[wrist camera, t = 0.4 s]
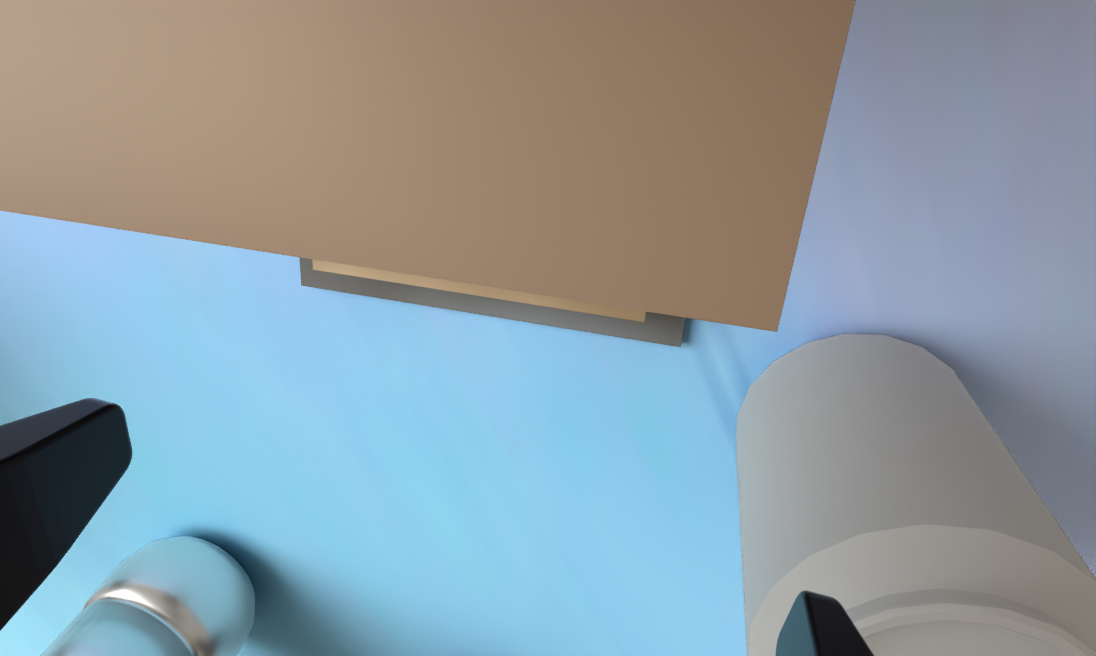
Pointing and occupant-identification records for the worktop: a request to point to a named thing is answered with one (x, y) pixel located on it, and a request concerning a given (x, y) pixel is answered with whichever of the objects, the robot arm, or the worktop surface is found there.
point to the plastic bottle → (165, 605)
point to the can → (898, 510)
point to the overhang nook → (442, 144)
